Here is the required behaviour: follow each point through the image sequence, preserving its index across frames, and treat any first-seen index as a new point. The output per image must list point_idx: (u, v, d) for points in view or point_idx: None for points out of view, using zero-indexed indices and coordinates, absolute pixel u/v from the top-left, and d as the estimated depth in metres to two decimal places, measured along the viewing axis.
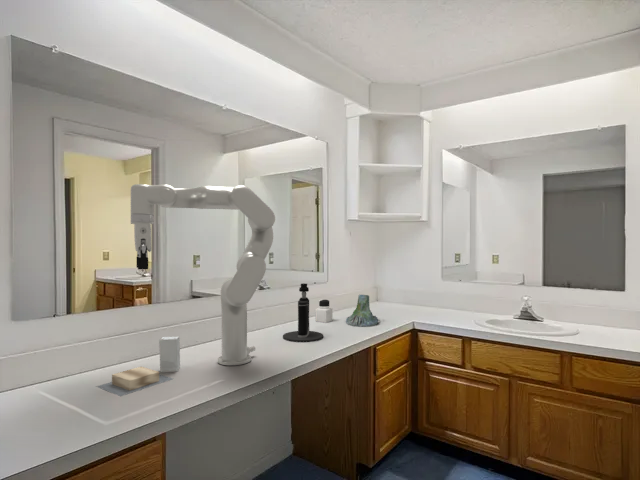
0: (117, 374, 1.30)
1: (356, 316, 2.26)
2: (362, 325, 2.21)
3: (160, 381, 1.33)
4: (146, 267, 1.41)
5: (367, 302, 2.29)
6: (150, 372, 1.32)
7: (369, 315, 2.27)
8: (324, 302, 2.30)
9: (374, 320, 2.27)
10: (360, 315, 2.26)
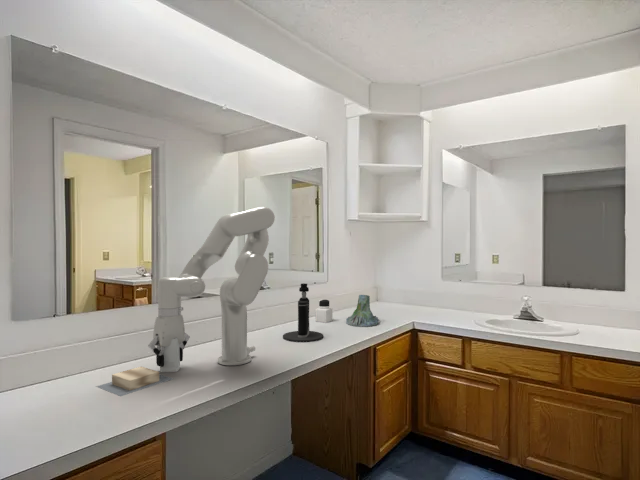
0: (117, 374, 1.30)
1: (356, 316, 2.26)
2: (362, 325, 2.20)
3: (160, 381, 1.33)
4: None
5: (367, 302, 2.28)
6: (150, 372, 1.32)
7: (369, 315, 2.26)
8: (324, 302, 2.30)
9: (374, 320, 2.26)
10: (360, 315, 2.25)
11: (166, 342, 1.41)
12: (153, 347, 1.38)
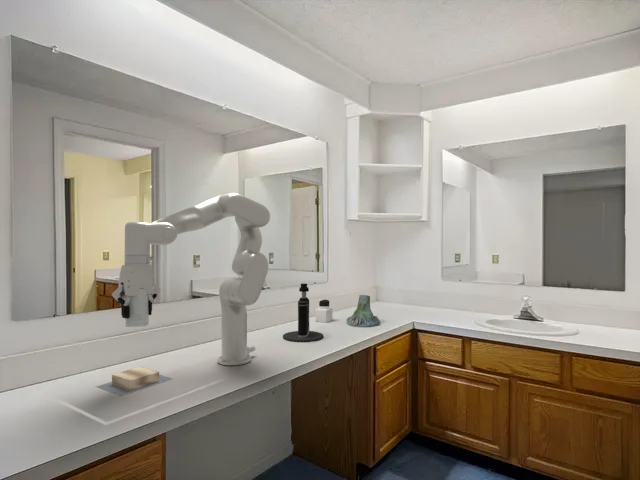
0: (117, 374, 1.30)
1: (356, 316, 2.25)
2: (362, 325, 2.20)
3: (160, 381, 1.33)
4: None
5: (368, 302, 2.27)
6: (150, 372, 1.32)
7: (370, 315, 2.25)
8: (324, 302, 2.30)
9: (375, 320, 2.26)
10: (360, 315, 2.24)
11: (132, 292, 1.29)
12: (117, 296, 1.26)
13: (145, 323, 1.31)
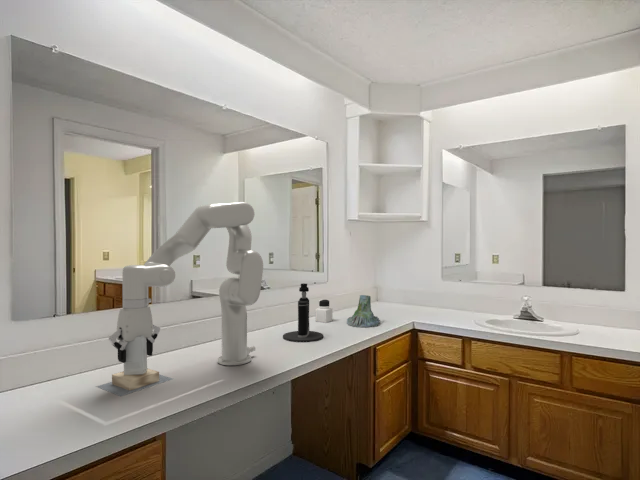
0: (117, 374, 1.30)
1: (357, 317, 2.25)
2: (362, 326, 2.19)
3: (160, 381, 1.33)
4: None
5: (368, 303, 2.27)
6: (150, 372, 1.32)
7: (370, 316, 2.25)
8: (324, 302, 2.30)
9: None
10: (361, 316, 2.24)
11: (131, 336, 1.28)
12: (114, 340, 1.25)
13: (143, 371, 1.31)
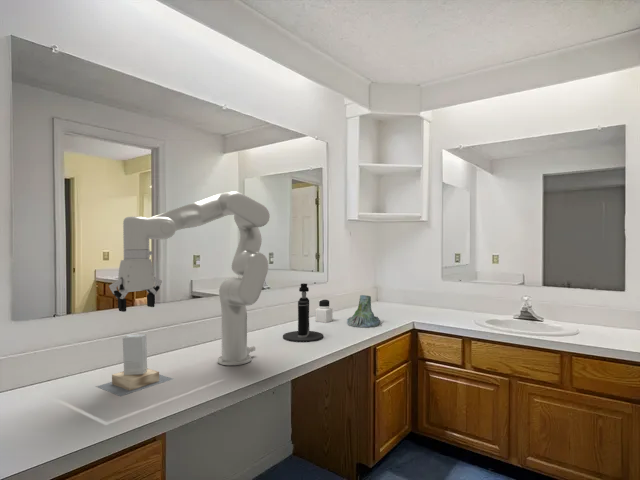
0: (117, 374, 1.30)
1: (357, 317, 2.24)
2: None
3: (160, 381, 1.33)
4: None
5: (368, 303, 2.26)
6: (150, 372, 1.32)
7: (370, 316, 2.24)
8: (324, 302, 2.30)
9: (375, 321, 2.24)
10: (361, 316, 2.23)
11: (132, 286, 1.28)
12: (114, 288, 1.25)
13: (143, 371, 1.31)
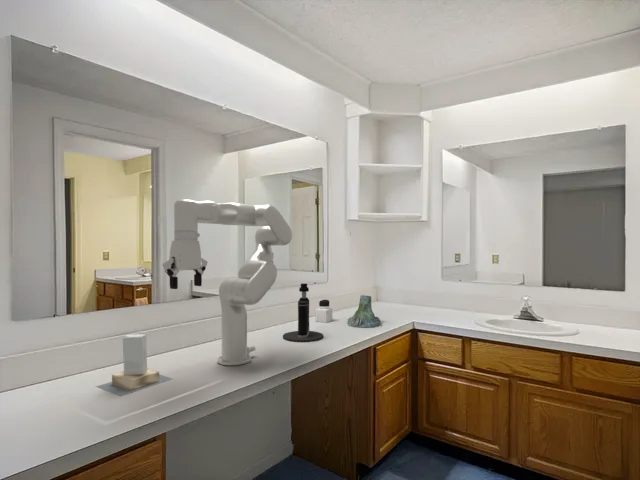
0: (117, 374, 1.30)
1: (357, 317, 2.24)
2: (363, 326, 2.18)
3: (160, 381, 1.33)
4: None
5: (369, 303, 2.26)
6: (150, 372, 1.32)
7: (370, 316, 2.24)
8: (324, 302, 2.30)
9: (376, 321, 2.24)
10: (361, 316, 2.23)
11: (183, 265, 1.35)
12: (167, 267, 1.32)
13: (143, 371, 1.31)
